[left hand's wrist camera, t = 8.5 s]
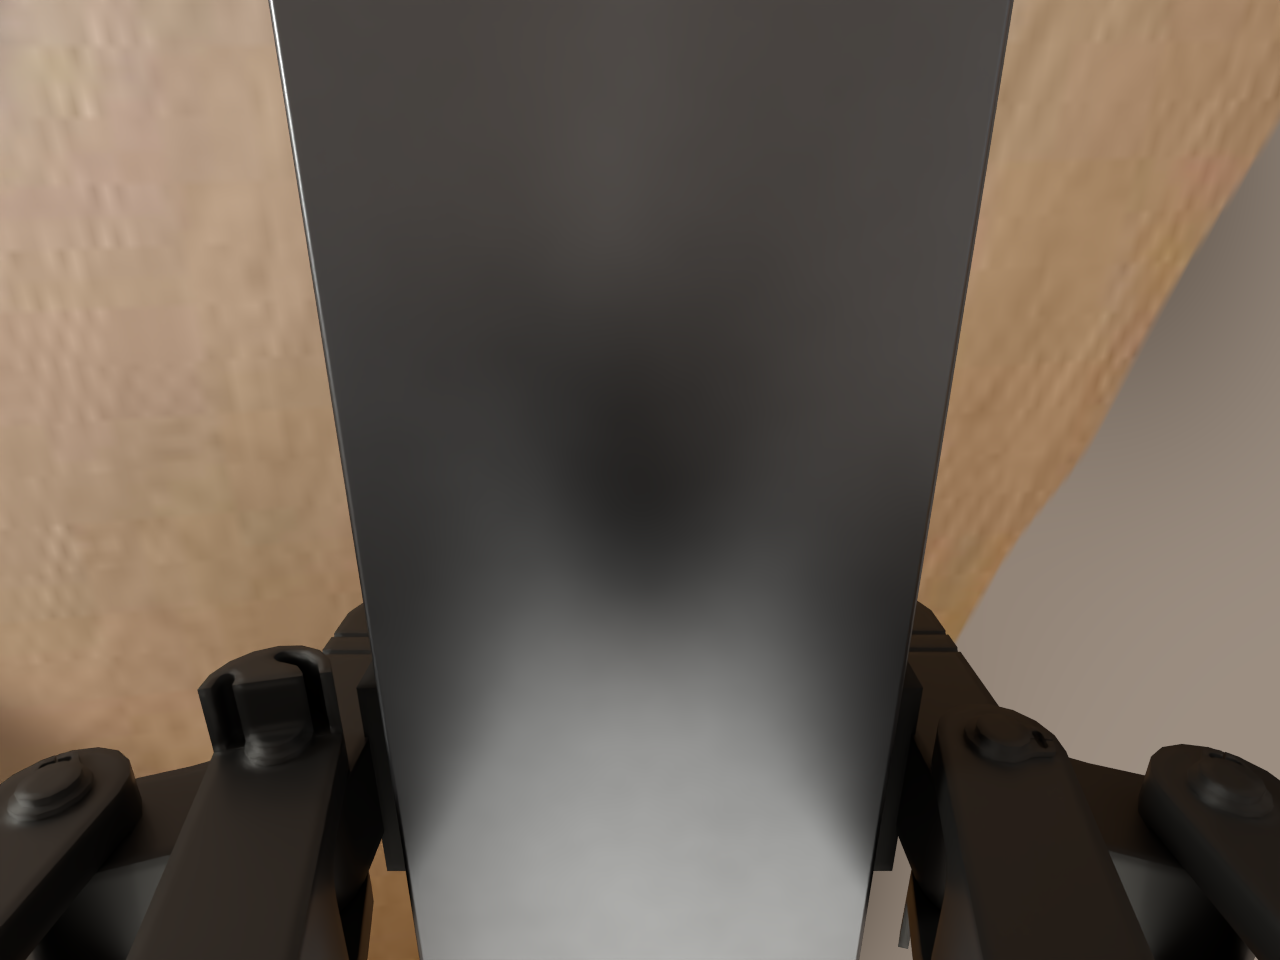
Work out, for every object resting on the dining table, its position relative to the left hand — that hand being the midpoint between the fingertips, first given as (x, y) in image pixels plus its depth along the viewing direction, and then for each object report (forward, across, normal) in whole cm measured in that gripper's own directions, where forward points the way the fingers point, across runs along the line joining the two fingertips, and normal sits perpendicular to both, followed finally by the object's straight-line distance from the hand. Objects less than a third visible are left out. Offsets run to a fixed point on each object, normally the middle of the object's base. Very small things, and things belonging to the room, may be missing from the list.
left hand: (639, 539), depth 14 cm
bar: (+1, 0, -13) cm, 13 cm away
